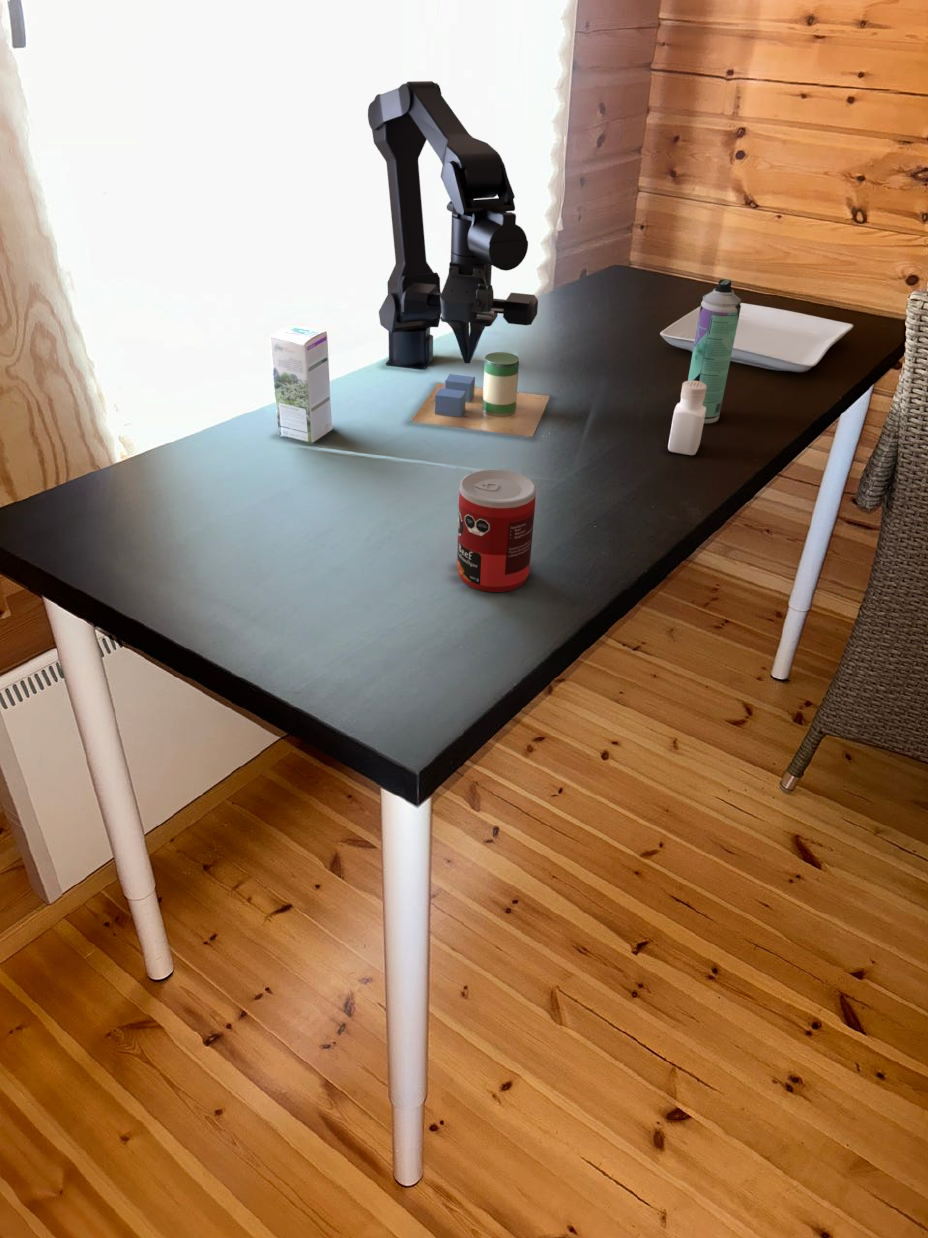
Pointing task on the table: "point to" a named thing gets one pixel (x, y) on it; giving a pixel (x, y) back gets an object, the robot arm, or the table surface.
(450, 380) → the blue blocks
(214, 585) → the table surface
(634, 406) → the table surface
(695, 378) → the spray can
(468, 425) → the cork mat
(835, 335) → the square plate
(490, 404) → the green tin
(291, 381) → the syrup box
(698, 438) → the pepper shaker
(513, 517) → the canned food
